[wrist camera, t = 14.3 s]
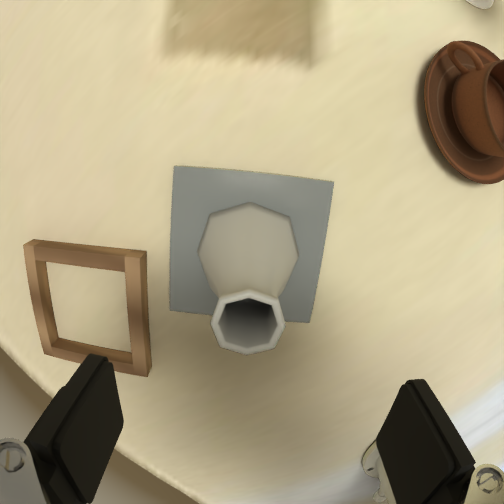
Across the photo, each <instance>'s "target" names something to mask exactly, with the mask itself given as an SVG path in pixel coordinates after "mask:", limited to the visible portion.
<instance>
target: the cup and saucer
mask: <svg viewBox="0 0 504 504" xmlns="http://www.w3.org/2000/svg"><path fill="white" fill-rule="evenodd" d="M424 98H425V108H426V114H427V119H428V122H429V126H430V129H431V132H432V134H433V136H434V139H435V141H436V143H437V145H438V147H439V149H440V150H441V152H442V154H443V155H444V156H445V158H446V159H447V160H448V162H449V163H450V164H451V165H452V166H453V167H454V168H455V169H456V170H457V171H458V172H459V173H461V174H462V175H464V176H465V177H467V178H468V179H470V180H472V181H475V182H477V183H482V184H493V183H497V182H500V181H502V180H504V60H500V59H499V58H498V57H497V56H496V55H495V54H494V53H492V52H491V51H490V50H488V49H487V48H485V47H483V46H481V45H479V44H477V43H474V42H470V41H453V42H450V43H449V44H448V45H446V46H444V47H443V48H442V49H441V50H440V51H439V52H438V53H437V54H436V55H435V56H434V58H433V59H432V61H431V63H430V65H429V68H428V70H427V74H426V79H425V87H424Z"/></svg>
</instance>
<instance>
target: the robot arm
mask: <svg viewBox="0 0 504 504" xmlns="http://www.w3.org/2000/svg"><path fill="white" fill-rule="evenodd" d="M123 423H124V420H123V414H122V410H121V405H120V400H119V395H118V390H117V384H116V379H115V373H114V367H113V364H112V362H109V361H108V358H107V357H105V356H101V355H96V354H92V353H90V354H89V355H88V356H87V357H86V358H85V360H84V361H83V362H82V364H81V365H80V366H79V368H78V369H77V370H76V372H75V373H74V375H73V376H72V377H71V379H70V380H69V381H68V383H67V384H66V386H63V387H62V388H61V389H60V390H59V391H58V392H57V394H56V395H55V397H54V398H53V399H52V401H51V402H50V404H49V405H48V407H47V408H46V410H45V411H44V412H43V414H42V415H41V417H40V418H39V420H38V421H37V423H36V424H35V426H34V427H33V429H32V430H31V431H30V433H29V435H28V436H27V438H26V439H25V441H24V442H22V441H20V440H18V439H14V438H4V439H1V440H0V504H86V503H89V504H90V503H92V501H93V499H94V496H95V494H96V491H97V489H98V486H99V484H100V481H101V479H102V476H103V474H104V471H105V469H106V466H107V464H108V461H109V459H110V456H111V454H112V452H113V450H114V447H115V445H116V442H117V440H118V438H119V435H120V433H121V431H122V428H123ZM475 463H476V462H475V460H474V458H473V457H472V455H471V453H470V451H469V450H468V448H467V446H466V445H465V443H464V441H463V440H462V438H461V436H460V435H459V433H458V431H457V430H456V428H455V426H454V425H453V423H452V421H451V420H450V418H449V417H448V415H447V413H446V412H445V410H444V409H443V407H442V405H441V404H440V402H439V401H438V399H437V398H436V396H435V394H434V393H433V391H432V390H431V388H430V387H429V385H428V384H427V382H426V381H425V380H424V379H415V380H408V381H407V382H406V383H405V384H404V385H402V386H401V388H400V390H399V392H398V395H397V397H396V399H395V401H394V403H393V405H392V407H391V410H390V412H389V414H388V416H387V418H386V420H385V422H384V424H383V426H382V428H381V430H380V432H379V434H378V435H377V438H376V441H375V442H374V443H373V444H372V446H371V447H370V448H369V449H368V450H367V452H366V453H365V455H364V457H363V462H362V464H363V468H364V471H365V473H366V474H367V475H369V476H371V477H374V478H379V480H380V483H381V484H380V488H379V489H378V490H377V492H376V493H375V494H374V496H373V499H374V501H375V502H378V503H381V502H383V501H384V500H385V499H387V502H388V504H504V472H503V471H502V470H501V469H500V468H499V467H497V466H495V465H492V464H482V465H480V466H478V467H477V468H476V469H475V467H474V464H475Z"/></svg>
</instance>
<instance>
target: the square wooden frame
mask: <svg viewBox="0 0 504 504" xmlns="http://www.w3.org/2000/svg"><path fill="white" fill-rule="evenodd" d="M23 247H24V256H25V263H26V270H27V277H28V283H29V289H30V295H31V300H32V305H33V310H34V315H35V319H36V324H37V328H38V332H39V336H40V340H41V344H42V348H43V351H44V354H46V355H50V356H53V357H57V358H61V359H65V360H68V361H72V362H76V363H81V364H82V362H83V361H84V360H85V358H86V357H87V356H88V355H89V354H90V353H92V354H96V355H101V356H105V357H107V358H108V361H109V362H112V364H113V367H114V371H117V372H122V373H127V374H132V375H138V376H144V377H148V374H149V372H150V369H151V367H152V363H151V351H150V338H149V321H148V300H147V260H146V251H141V250H131V249H121V248H111V247H101V246H92V245H82V244H72V243H63V242H54V241H44V240H35V239H33V240H31V241H29V242H27V243H26V244H24V245H23ZM46 262H53V263H60V264H67V265H75V266H82V267H90V268H98V269H105V270H114V271H122V272H125V278H126V296H127V310H128V322H129V332H130V342H131V351H132V353H130V352H124V351H118V350H113V349H108V348H103V347H98V346H93V345H88V344H84V343H79V342H75V341H70V340H66V339H62V338H58V333H57V328H56V324H55V319H54V313H53V308H52V302H51V296H50V290H49V284H48V277H47V269H46Z"/></svg>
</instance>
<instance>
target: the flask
mask: <svg viewBox="0 0 504 504" xmlns="http://www.w3.org/2000/svg"><path fill="white" fill-rule="evenodd" d="M197 253H198V256H199V259H200V261H201V264H202V267H203V270H204V273H205V275H206V278H207V281H208V284H209V286H210V288H211V290H212V291H213V292H214V293H215V294H216V295H217V296H218V298H219V300H218V303H217V306H216V308H215V311H214V313H213V316H212V319H211V322H210V324H211V327H212V329H213V332H214V334H215V336H216V339H217V341H218V344H219V346H220V347H221V348H224V349H227V350H231V351H234V352H237V353H241V354H244V355H250V354H255V353H259V352H263V351H267V350H271V349H274V348H275V346H276V344H277V342H278V340H279V338H280V336H281V334H282V332H283V330H284V328H285V321H284V317H283V314H282V310H281V307H280V303H279V300H278V296H279V295H280V294H281V293H282V292H283V290H284V288H285V286H286V284H287V282H288V280H289V277H290V275H291V273H292V271H293V269H294V266H295V264H296V262H297V260H298V257H299V251H298V247H297V243H296V239H295V235H294V231H293V227H292V223H291V220H290V217H289V216H287V215H284V214H281V213H279V212H276V211H274V210H271V209H268V208H266V207H263V206H260V205H258V204H255V203H252V202H248V203H244V204H241V205H237V206H234V207H231V208H227V209H224V210H220V211H217V212H214V213H210V215H209V217H208V220H207V223H206V226H205V229H204V232H203V235H202V238H201V241H200V243H199V246H198V249H197Z"/></svg>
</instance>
